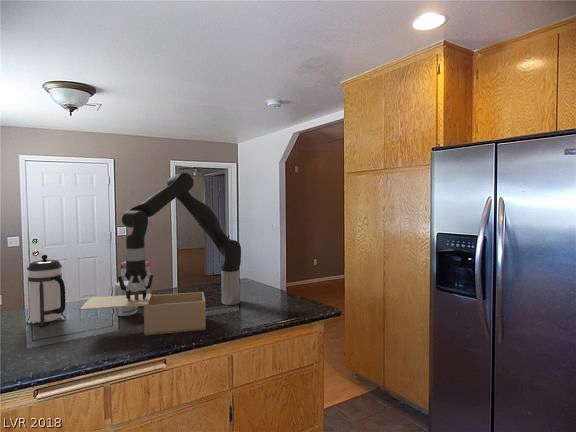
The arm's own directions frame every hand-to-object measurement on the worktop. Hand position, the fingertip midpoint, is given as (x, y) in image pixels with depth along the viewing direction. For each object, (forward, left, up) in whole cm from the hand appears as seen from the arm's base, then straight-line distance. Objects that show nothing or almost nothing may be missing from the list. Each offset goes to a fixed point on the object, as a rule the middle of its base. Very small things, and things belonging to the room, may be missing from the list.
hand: (136, 298), depth 154 cm
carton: (-16, 0, -13) cm, 20 cm away
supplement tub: (+7, -24, -13) cm, 28 cm away
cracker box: (+5, -47, -13) cm, 49 cm away
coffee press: (+38, -20, -13) cm, 45 cm away
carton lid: (+7, 0, -1) cm, 7 cm away
